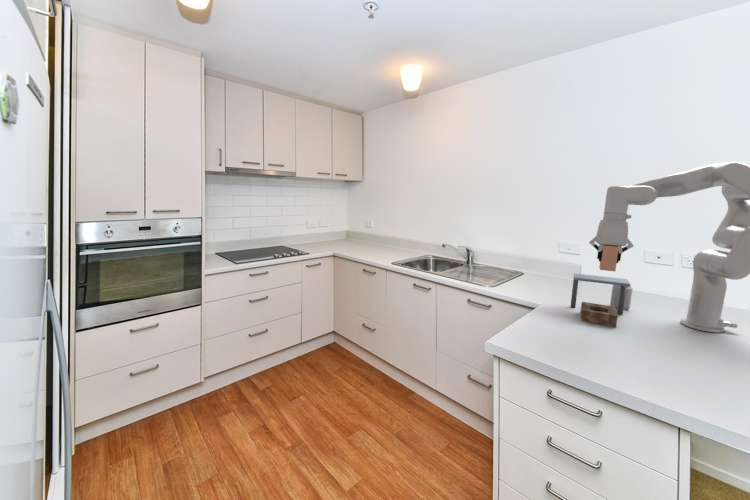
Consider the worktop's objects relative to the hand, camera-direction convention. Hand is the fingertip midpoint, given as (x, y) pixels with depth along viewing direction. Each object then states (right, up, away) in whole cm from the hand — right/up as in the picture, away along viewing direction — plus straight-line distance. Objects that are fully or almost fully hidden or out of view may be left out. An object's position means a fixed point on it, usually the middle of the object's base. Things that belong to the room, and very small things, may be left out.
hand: (608, 261), depth 133 cm
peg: (0, -3, +1) cm, 3 cm away
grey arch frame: (+4, -24, +14) cm, 28 cm away
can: (+21, -23, +21) cm, 37 cm away
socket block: (0, -25, +6) cm, 26 cm away
